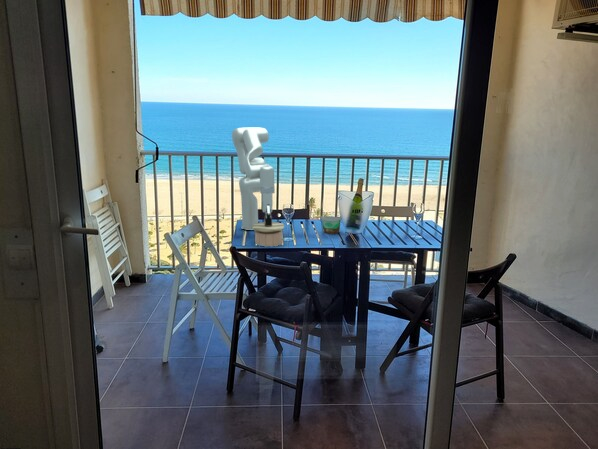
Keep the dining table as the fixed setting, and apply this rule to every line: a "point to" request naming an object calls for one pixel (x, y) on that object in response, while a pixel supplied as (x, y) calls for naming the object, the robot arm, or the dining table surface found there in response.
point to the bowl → (268, 238)
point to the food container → (331, 224)
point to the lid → (268, 226)
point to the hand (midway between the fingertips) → (268, 223)
